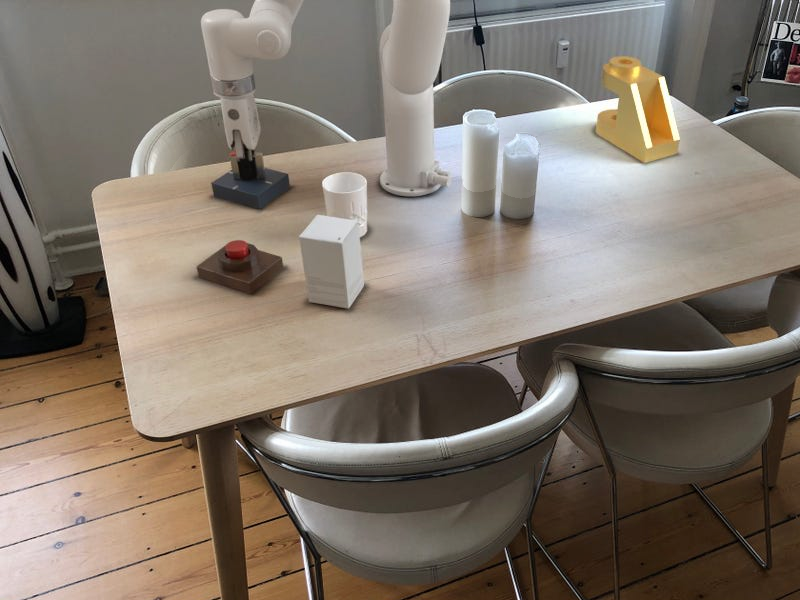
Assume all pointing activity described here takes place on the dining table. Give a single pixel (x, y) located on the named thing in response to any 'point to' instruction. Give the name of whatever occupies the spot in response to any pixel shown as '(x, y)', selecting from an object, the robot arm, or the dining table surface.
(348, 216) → the white cup
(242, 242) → the release button
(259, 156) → the tan upright tile
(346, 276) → the white packaging box
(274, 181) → the dial block
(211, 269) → the block
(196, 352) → the dining table surface
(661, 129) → the yellow mounting bracket
